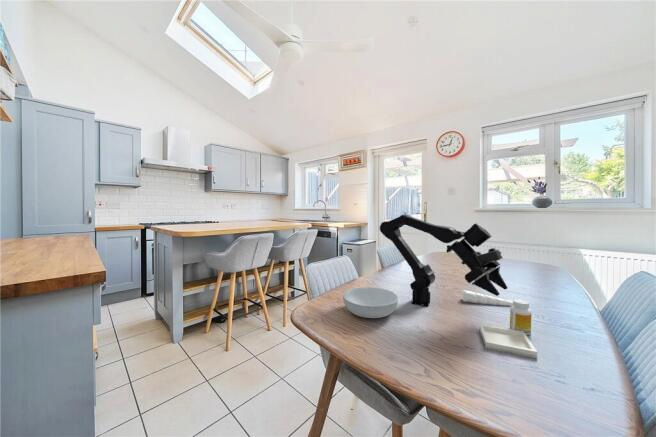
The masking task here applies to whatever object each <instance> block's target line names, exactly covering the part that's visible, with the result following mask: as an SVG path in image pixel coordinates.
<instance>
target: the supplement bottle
mask: <svg viewBox="0 0 656 437" xmlns="http://www.w3.org/2000/svg"><path fill="white" fill-rule="evenodd" d="M512 302H513V305H514V306H510V308H509V309H510V310H509V312H510V314H509V329H512V330H518V331H524V333H525V334H526V336H529V335H530V334H531V333H532V310H531V309H529V308H530V302H528V301H526V300H524V299H519V298H518V299H513V300H512Z"/></svg>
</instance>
